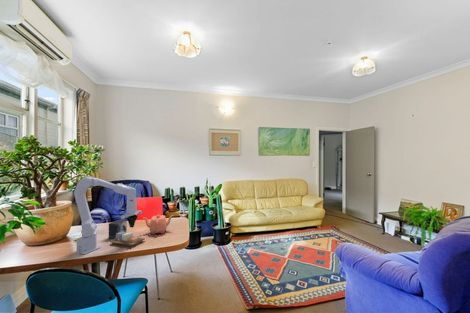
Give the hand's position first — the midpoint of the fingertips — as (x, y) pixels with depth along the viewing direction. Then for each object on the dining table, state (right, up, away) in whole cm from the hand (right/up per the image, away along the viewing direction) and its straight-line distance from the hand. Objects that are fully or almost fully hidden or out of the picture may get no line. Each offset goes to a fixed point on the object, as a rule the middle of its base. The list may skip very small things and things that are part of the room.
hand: (131, 227), depth 137 cm
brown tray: (-2, -10, -1) cm, 10 cm away
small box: (-16, -11, +12) cm, 22 cm away
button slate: (-7, -8, +1) cm, 11 cm away
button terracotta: (+3, -10, -3) cm, 10 cm away
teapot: (+11, -10, +19) cm, 24 cm away
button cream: (-2, -8, -1) cm, 8 cm away
